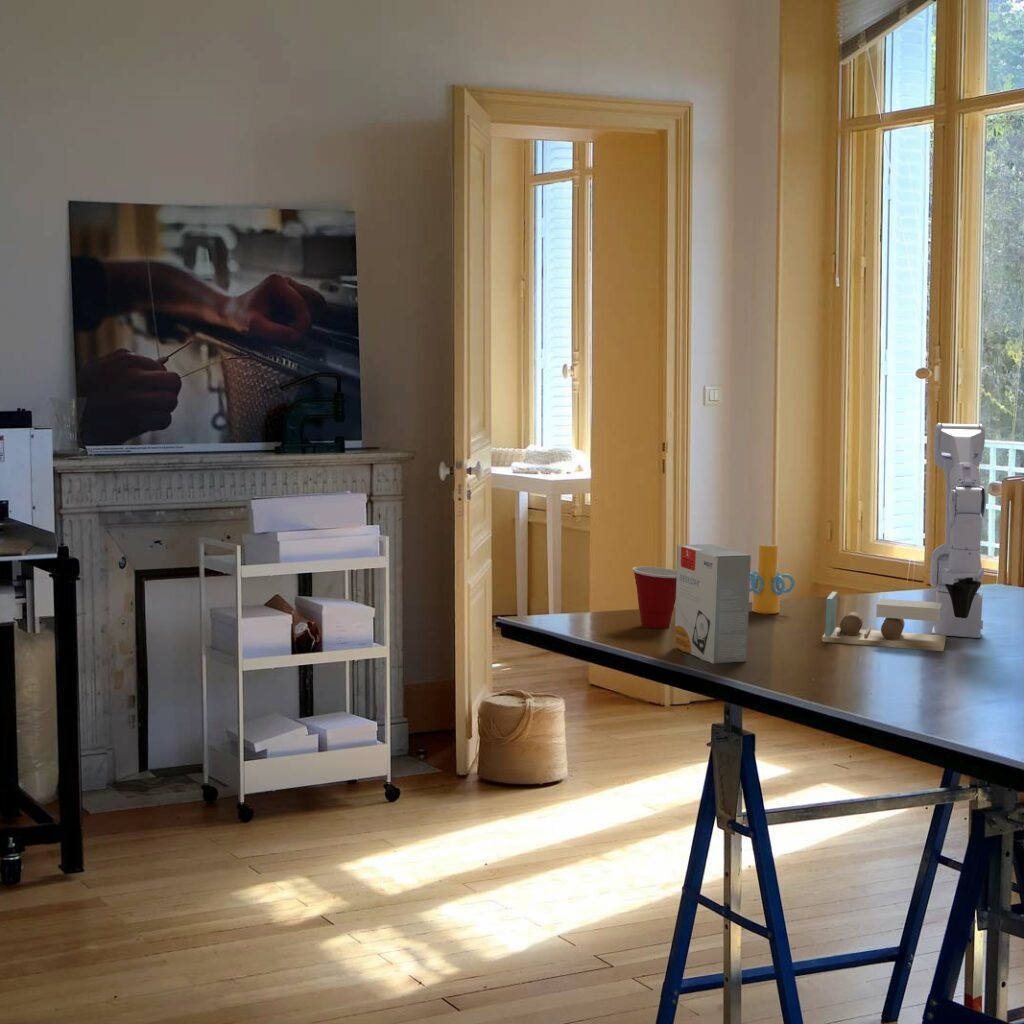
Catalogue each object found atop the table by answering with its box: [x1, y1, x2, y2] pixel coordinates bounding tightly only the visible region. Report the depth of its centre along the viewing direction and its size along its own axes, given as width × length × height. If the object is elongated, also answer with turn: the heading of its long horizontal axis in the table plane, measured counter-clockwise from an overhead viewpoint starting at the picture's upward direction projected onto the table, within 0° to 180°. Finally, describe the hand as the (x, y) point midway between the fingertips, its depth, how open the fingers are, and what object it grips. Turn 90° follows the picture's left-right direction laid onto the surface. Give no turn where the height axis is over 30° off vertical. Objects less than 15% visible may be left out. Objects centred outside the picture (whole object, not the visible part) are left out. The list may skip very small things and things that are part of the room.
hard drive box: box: [673, 543, 752, 664], centre depth 264 cm, size 16×8×20 cm, turn 21°
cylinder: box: [749, 543, 796, 615], centre depth 314 cm, size 12×10×15 cm
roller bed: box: [821, 591, 947, 652], centre depth 282 cm, size 23×12×8 cm, turn 71°
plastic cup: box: [632, 565, 677, 629], centre depth 293 cm, size 11×11×12 cm
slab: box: [875, 598, 942, 622], centre depth 280 cm, size 12×8×2 cm, turn 71°
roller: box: [839, 611, 864, 636], centre depth 284 cm, size 4×6×4 cm
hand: (961, 617), depth 277 cm, fingers closed
